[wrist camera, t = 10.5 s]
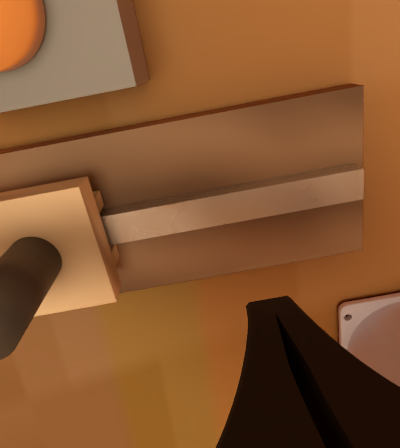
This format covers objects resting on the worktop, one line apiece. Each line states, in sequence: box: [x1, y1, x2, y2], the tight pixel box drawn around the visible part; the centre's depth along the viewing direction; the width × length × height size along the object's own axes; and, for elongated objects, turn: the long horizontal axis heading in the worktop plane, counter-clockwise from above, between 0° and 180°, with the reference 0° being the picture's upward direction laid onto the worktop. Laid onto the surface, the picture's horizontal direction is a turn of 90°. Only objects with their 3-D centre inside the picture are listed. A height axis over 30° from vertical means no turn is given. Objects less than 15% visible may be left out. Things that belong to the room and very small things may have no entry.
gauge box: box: [0, 0, 150, 113], centre depth 14 cm, size 6×8×6 cm
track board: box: [0, 84, 363, 293], centre depth 20 cm, size 9×22×2 cm, turn 100°
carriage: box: [0, 176, 121, 360], centre depth 16 cm, size 6×6×8 cm
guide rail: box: [99, 163, 364, 245], centre depth 19 cm, size 2×21×1 cm, turn 100°
